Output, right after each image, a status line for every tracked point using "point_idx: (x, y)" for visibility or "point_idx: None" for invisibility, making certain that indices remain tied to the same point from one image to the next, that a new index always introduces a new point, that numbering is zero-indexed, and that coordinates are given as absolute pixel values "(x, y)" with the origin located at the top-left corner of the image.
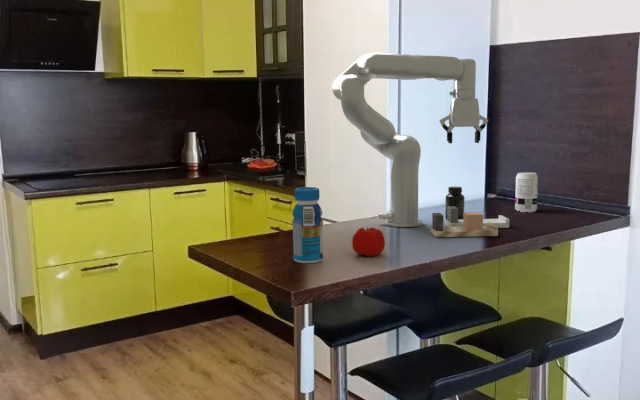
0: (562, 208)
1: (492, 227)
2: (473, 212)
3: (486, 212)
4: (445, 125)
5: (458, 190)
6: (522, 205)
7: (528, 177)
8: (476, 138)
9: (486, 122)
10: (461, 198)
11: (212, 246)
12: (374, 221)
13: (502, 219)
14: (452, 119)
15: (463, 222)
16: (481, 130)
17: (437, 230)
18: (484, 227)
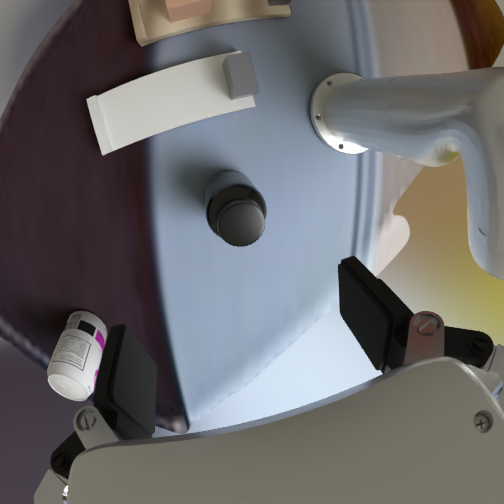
0: (47, 352)
1: (139, 3)
2: (183, 1)
3: (158, 300)
4: (481, 352)
5: (228, 203)
6: (85, 320)
7: (57, 366)
8: (130, 361)
9: (46, 484)
10: (215, 192)
11: (500, 23)
12: None
13: (102, 120)
14: (502, 411)
15: (210, 8)
16: (77, 416)
17: None
18: (156, 22)
